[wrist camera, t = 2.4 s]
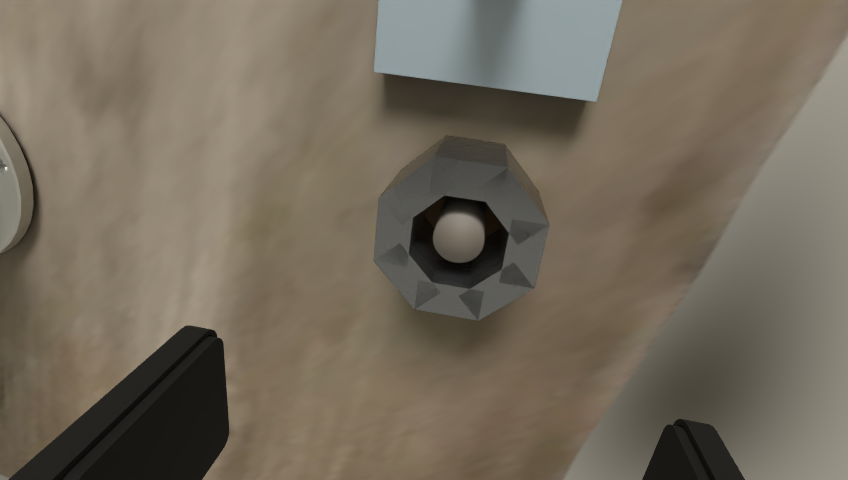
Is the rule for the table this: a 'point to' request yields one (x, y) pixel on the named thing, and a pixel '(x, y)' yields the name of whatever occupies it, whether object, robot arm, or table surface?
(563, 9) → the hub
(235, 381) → the table surface
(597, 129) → the table surface
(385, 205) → the grey octagonal ring
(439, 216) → the stand
